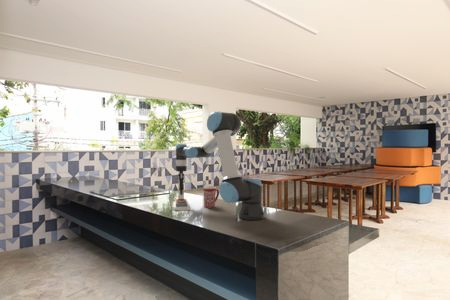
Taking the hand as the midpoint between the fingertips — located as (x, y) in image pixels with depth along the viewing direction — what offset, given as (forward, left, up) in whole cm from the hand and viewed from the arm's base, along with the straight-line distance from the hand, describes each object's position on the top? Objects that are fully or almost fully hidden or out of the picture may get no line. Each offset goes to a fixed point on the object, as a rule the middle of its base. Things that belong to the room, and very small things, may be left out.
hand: (181, 198), depth 214 cm
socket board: (0, +6, -5) cm, 8 cm away
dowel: (0, 0, -2) cm, 2 cm away
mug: (-21, +8, -5) cm, 23 cm away
